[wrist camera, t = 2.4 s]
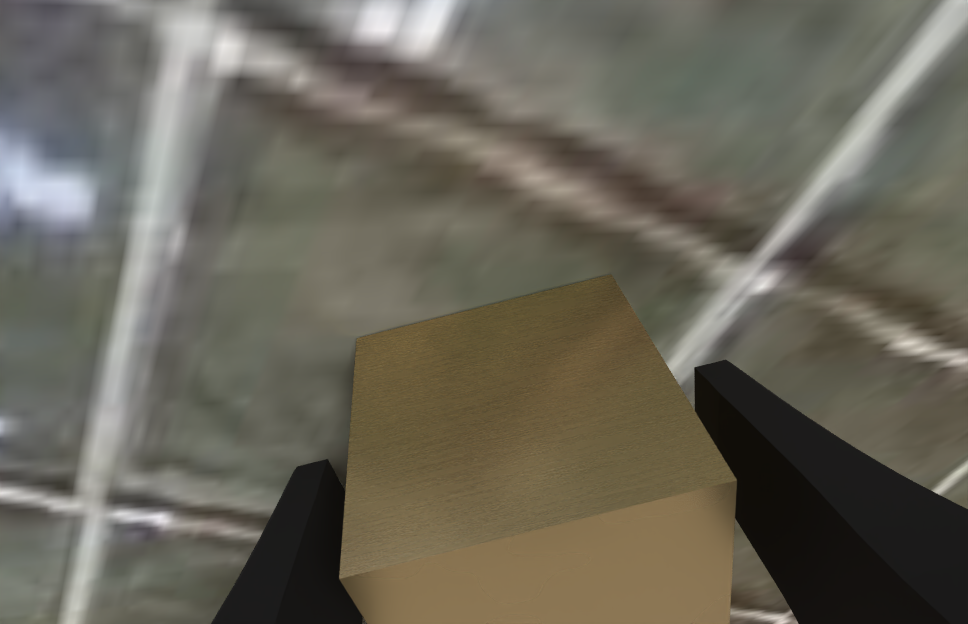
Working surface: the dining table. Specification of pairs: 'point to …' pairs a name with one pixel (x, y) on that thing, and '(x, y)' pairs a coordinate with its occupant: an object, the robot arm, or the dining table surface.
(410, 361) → the brushed tan cube
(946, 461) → the dining table surface
